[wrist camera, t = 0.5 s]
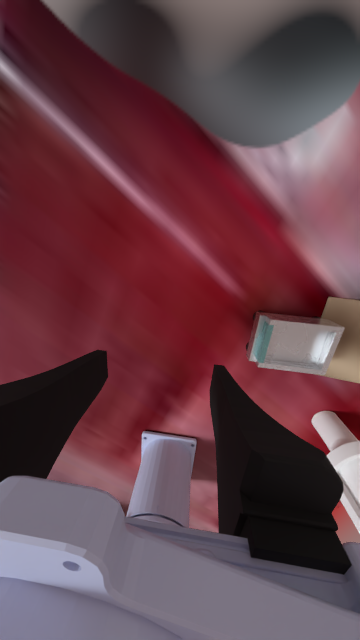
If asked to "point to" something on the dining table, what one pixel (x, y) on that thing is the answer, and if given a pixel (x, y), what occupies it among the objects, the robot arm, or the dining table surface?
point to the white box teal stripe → (293, 342)
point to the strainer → (342, 459)
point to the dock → (345, 338)
